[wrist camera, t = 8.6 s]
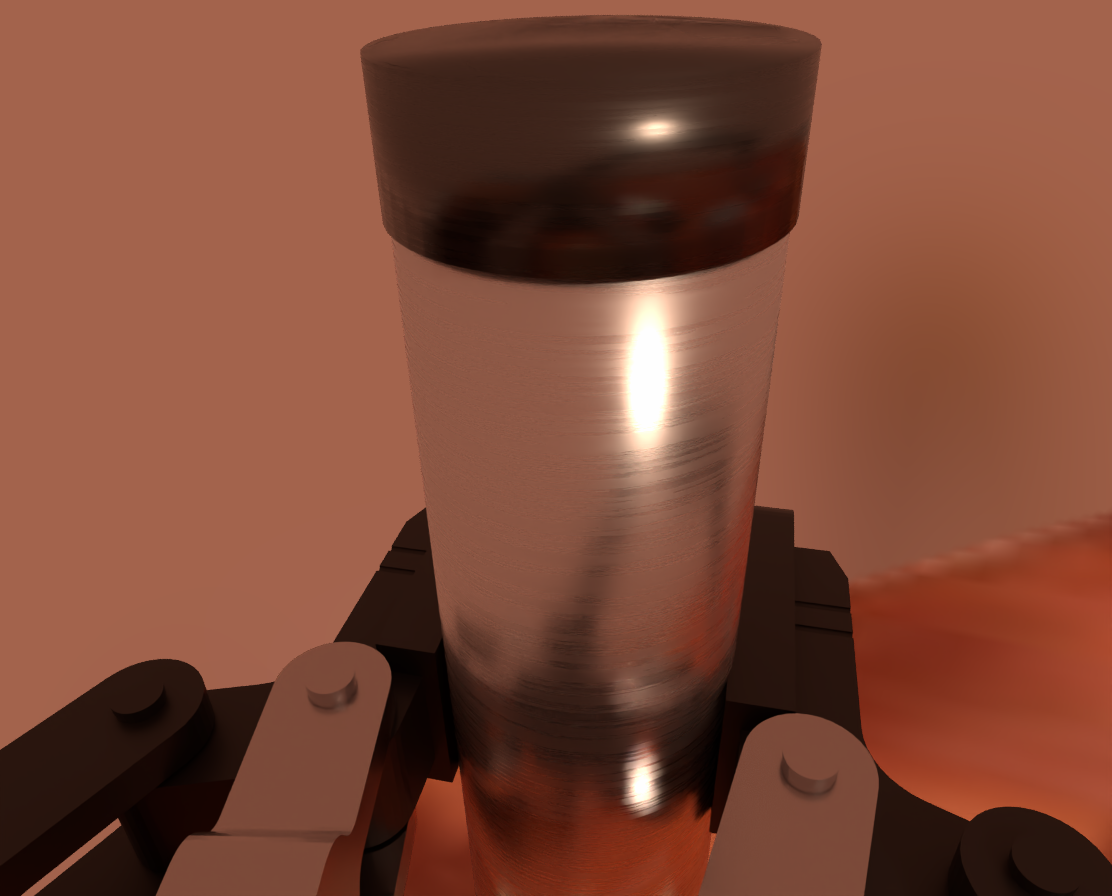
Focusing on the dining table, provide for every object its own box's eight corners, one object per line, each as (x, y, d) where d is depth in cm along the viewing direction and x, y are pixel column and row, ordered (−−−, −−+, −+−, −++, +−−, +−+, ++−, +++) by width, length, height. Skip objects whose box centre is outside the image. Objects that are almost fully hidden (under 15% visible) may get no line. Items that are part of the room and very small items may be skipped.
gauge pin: (724, 1067, 15) (920, 38, 6) (572, 1220, 13) (540, 105, 4) (601, 914, 17) (614, 7, 8) (458, 1028, 15) (286, 41, 7)
